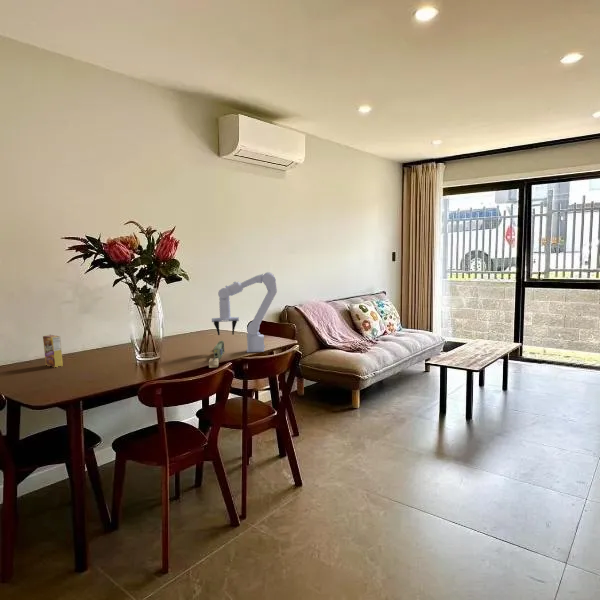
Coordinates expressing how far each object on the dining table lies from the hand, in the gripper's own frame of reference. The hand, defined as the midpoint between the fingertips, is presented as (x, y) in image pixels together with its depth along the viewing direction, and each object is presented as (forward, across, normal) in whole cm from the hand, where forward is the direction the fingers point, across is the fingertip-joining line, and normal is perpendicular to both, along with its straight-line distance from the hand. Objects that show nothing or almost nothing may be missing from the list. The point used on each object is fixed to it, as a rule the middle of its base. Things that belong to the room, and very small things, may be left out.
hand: (225, 334), depth 249 cm
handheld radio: (+10, -3, -13) cm, 17 cm away
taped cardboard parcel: (+9, -4, -13) cm, 17 cm away
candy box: (+10, -84, -16) cm, 86 cm away
